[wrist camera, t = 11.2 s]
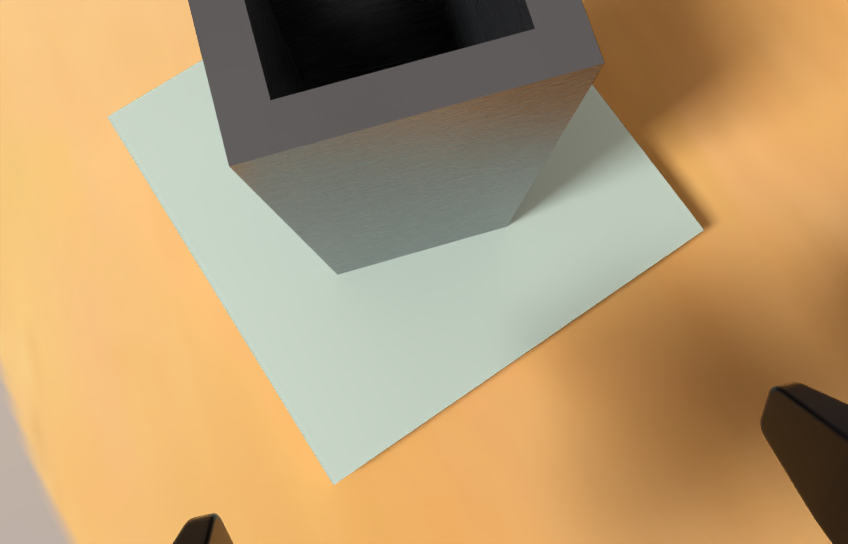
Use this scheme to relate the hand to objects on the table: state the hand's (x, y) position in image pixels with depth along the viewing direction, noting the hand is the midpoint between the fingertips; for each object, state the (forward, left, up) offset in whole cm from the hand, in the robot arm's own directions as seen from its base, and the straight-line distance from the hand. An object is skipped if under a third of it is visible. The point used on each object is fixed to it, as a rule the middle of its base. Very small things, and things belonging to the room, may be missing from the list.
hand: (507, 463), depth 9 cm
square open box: (+8, -2, -8) cm, 12 cm away
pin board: (+8, -2, -9) cm, 12 cm away
